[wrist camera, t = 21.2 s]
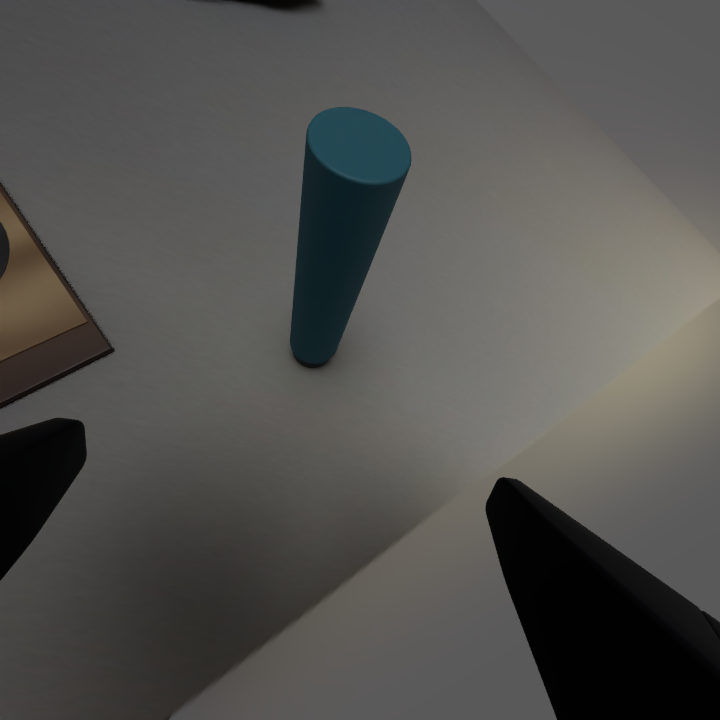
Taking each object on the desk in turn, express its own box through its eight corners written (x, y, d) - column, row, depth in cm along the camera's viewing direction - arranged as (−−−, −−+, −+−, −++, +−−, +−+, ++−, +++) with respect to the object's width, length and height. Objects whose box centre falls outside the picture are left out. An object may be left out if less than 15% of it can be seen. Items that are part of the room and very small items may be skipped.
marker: (343, 355, 21) (433, 162, 9) (307, 379, 20) (354, 197, 8) (316, 322, 22) (367, 96, 9) (280, 344, 21) (283, 120, 8)
